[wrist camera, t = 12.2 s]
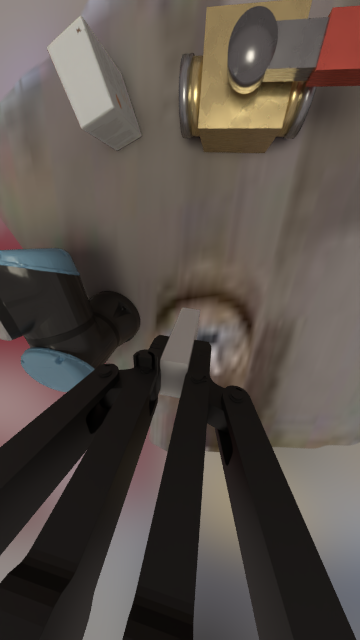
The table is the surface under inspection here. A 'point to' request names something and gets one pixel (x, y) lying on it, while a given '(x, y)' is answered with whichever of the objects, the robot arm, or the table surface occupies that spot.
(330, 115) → the table surface
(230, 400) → the robot arm
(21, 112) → the table surface
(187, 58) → the pipe
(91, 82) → the small box
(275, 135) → the valve body
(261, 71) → the lever
